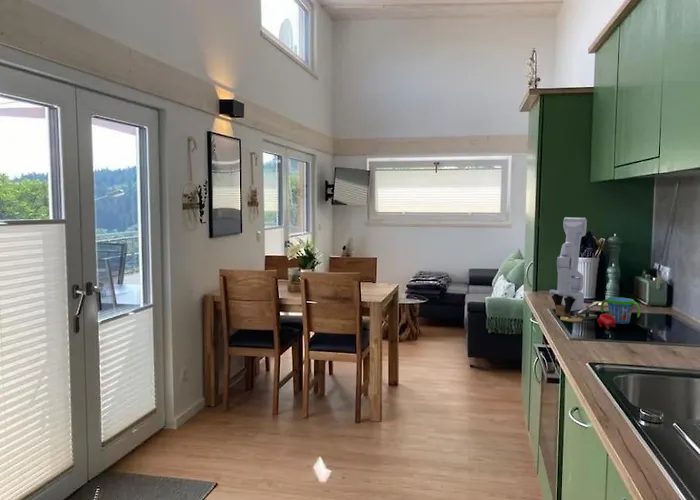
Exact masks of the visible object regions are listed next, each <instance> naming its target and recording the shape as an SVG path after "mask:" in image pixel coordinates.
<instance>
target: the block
mask: <svg viewBox="0 0 700 500" xmlns="http://www.w3.org/2000/svg"><path fill="white" fill-rule="evenodd" d="M571 312H572V311H571V310H570V313H566V312H565V305H564V304H563V303H561V304H560V305H556V307H555V316H560V317H561V316H571Z"/></svg>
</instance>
